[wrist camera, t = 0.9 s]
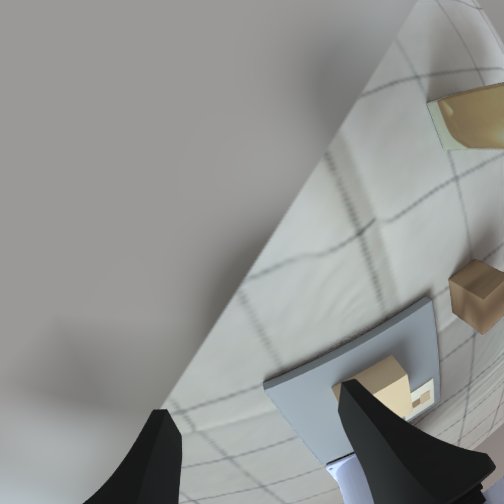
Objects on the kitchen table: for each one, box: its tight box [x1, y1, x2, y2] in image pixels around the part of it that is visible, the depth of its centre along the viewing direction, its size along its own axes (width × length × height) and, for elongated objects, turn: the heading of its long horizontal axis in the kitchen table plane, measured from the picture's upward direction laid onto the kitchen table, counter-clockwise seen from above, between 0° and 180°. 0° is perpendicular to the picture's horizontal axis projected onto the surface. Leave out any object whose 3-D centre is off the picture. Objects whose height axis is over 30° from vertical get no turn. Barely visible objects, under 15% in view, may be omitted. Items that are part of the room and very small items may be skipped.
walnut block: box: [448, 259, 504, 335], centre depth 19 cm, size 4×4×5 cm
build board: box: [263, 296, 440, 465], centre depth 22 cm, size 16×16×4 cm
